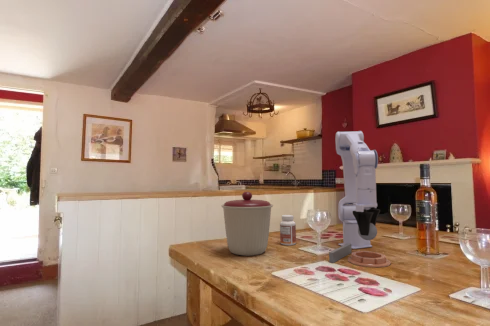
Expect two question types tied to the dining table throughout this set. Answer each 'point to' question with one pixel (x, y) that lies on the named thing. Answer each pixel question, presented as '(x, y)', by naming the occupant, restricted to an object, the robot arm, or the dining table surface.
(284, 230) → the pill bottle
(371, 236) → the ball
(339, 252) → the low wall
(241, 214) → the canister
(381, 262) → the bowl
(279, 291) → the dining table surface
